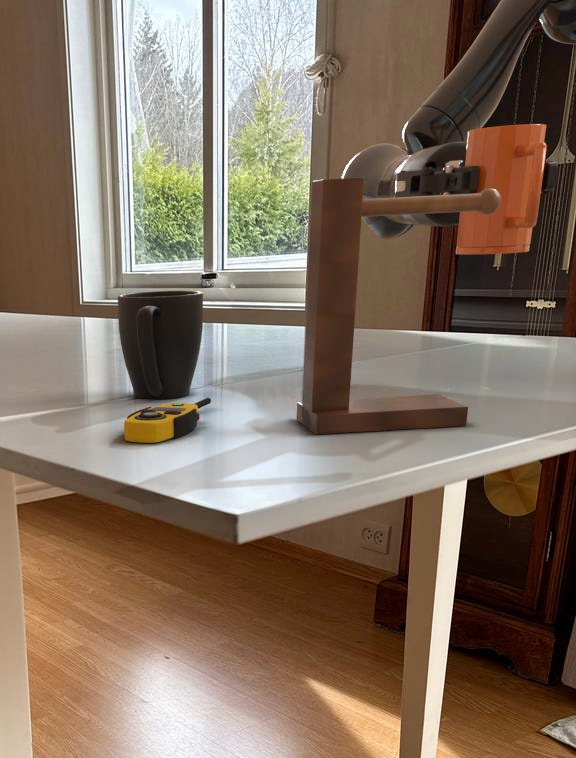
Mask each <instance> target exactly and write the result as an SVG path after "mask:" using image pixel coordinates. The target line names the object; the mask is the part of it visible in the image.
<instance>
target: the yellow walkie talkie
mask: <svg viewBox="0 0 576 758" xmlns="http://www.w3.org/2000/svg"><path fill="white" fill-rule="evenodd" d="M211 402H212V398H211V397H206V398H204V399H201V400H199V401H197V402H194V403H188V402H187V403H186V402H168V403H163V404H159V405H156V406H155V405H154V406H148V407H145V408H142V409H139V410H136V411H134V412H132V413H130V414H129V415H128V416H127V417H126V419H125V420H124V422H123V435H124V440H125V441H127V442H130V443H131V442H132V443H139V444H140V443H141V444H142V443H145V444H153V443H154V444H155V443H160V442H164V441H167V440H169V439H177V438H180V437H182V436H186V434H190V433H191V432H192V431H194V430H195V429H196V428H197V426H198V422H199V420H200V417H201V416H200V412H199V409H201V408H203V407H205V406H206V407H207V406H208V405H209V404H211Z"/></svg>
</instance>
